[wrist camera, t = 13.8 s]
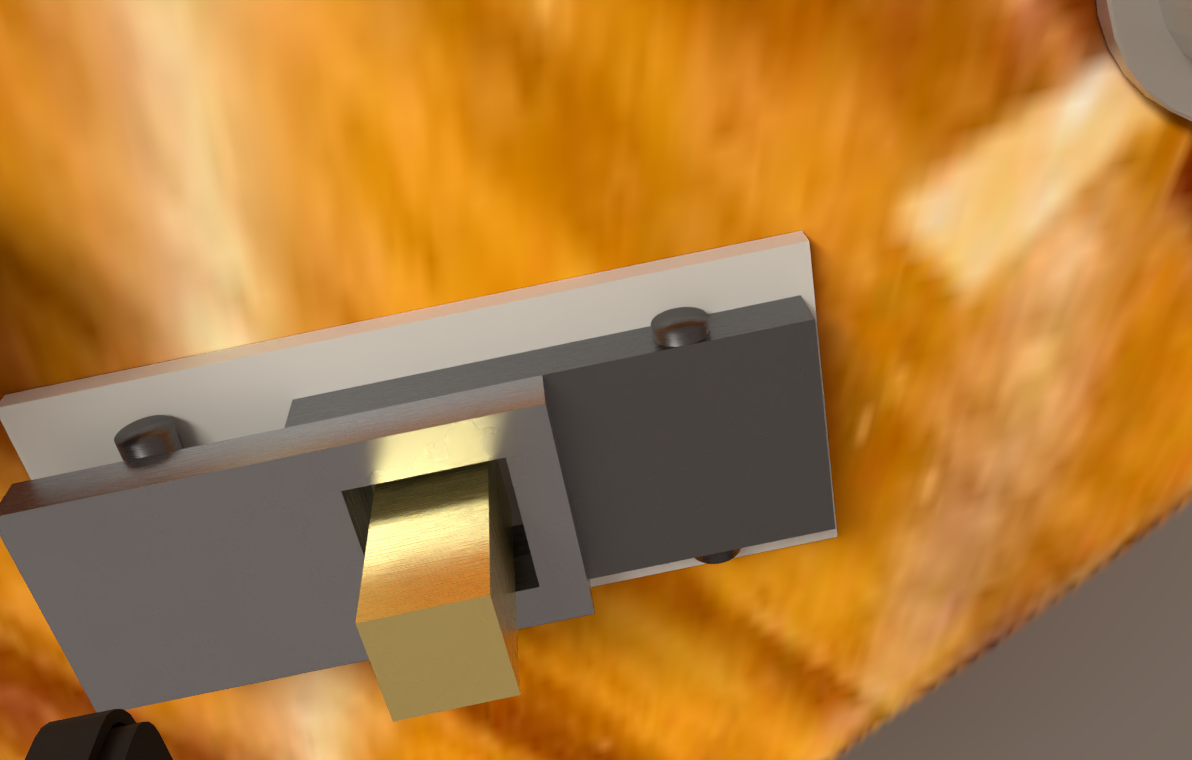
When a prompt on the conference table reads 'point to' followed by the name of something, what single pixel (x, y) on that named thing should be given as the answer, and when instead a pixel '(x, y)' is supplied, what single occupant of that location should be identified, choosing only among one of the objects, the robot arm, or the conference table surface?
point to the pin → (441, 591)
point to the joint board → (398, 360)
